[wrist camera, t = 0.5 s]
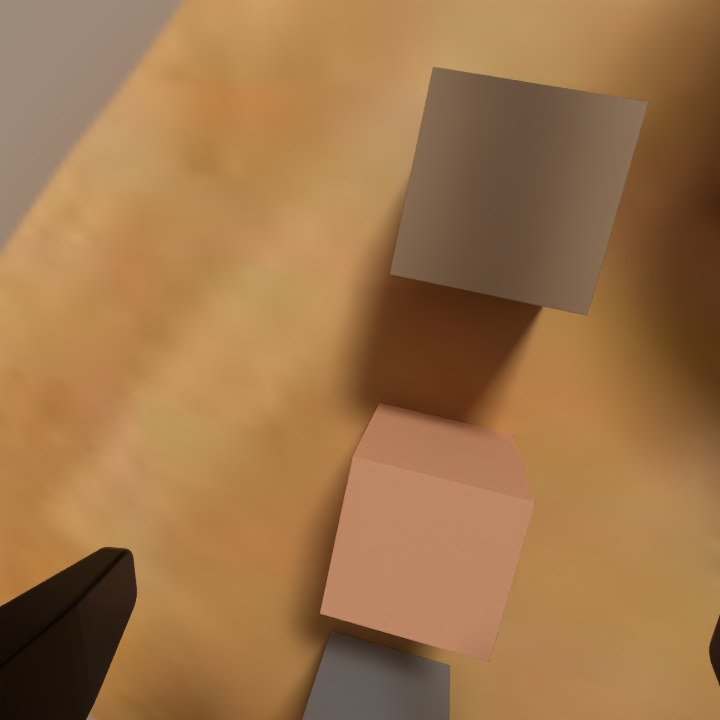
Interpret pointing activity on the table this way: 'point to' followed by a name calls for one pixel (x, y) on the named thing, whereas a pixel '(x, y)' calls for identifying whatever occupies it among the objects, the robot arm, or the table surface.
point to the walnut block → (515, 188)
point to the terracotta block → (429, 531)
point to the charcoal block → (377, 684)
